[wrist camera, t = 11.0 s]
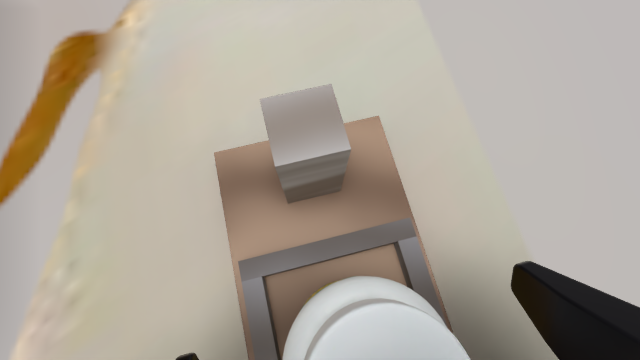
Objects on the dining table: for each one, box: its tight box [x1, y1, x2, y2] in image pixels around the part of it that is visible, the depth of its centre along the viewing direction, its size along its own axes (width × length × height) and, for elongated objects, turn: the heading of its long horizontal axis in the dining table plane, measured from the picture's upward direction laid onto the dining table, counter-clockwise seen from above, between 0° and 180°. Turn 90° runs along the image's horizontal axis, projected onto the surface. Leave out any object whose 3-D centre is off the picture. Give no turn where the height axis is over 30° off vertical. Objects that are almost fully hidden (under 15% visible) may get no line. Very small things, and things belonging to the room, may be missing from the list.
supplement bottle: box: [283, 276, 471, 360], centre depth 12 cm, size 5×5×10 cm
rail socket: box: [214, 84, 454, 360], centre depth 14 cm, size 22×10×7 cm, turn 14°
